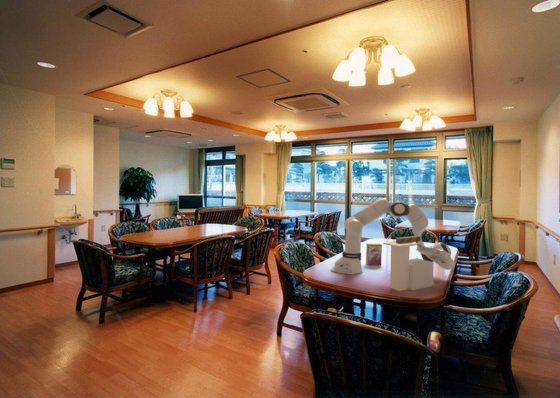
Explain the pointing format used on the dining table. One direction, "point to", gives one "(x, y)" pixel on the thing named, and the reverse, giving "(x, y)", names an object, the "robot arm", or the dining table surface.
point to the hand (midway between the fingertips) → (425, 246)
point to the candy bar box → (373, 254)
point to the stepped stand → (408, 268)
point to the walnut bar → (408, 239)
